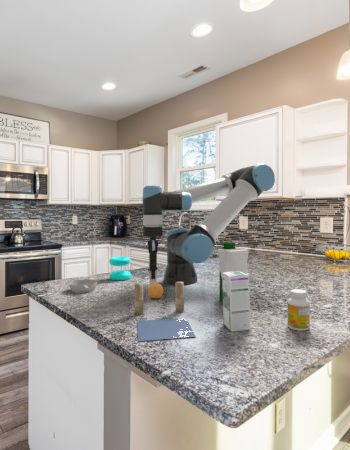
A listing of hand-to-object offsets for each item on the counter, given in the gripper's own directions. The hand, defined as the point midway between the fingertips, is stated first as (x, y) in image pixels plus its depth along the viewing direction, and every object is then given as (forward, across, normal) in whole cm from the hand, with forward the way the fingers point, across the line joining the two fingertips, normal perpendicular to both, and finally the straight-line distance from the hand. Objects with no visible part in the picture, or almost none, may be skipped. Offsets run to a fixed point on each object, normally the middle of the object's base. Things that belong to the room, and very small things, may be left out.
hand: (153, 286), depth 121 cm
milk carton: (+2, +18, +27) cm, 32 cm away
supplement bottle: (+2, +43, +36) cm, 57 cm away
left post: (+2, +25, -6) cm, 26 cm away
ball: (-1, +9, 0) cm, 9 cm away
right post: (+2, +25, +7) cm, 26 cm away
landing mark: (+2, +39, +1) cm, 39 cm away
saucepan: (+3, -4, -27) cm, 27 cm away
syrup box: (+2, +41, +20) cm, 45 cm away
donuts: (+2, -28, -14) cm, 31 cm away
